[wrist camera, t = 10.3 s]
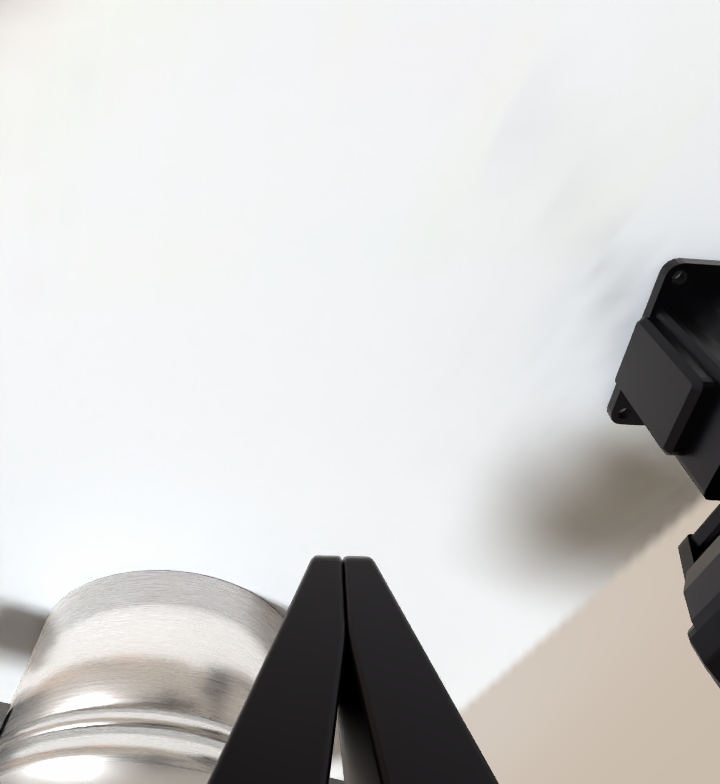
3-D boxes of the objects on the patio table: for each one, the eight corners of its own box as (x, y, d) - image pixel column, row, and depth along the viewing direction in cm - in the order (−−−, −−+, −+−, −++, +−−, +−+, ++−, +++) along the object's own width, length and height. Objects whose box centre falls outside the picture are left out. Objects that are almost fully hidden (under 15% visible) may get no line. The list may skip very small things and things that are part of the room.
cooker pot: (390, 630, 31) (404, 781, 26) (278, 746, 37) (269, 889, 32) (-94, 477, 24) (-224, 637, 18) (-134, 650, 30) (-243, 811, 25)
